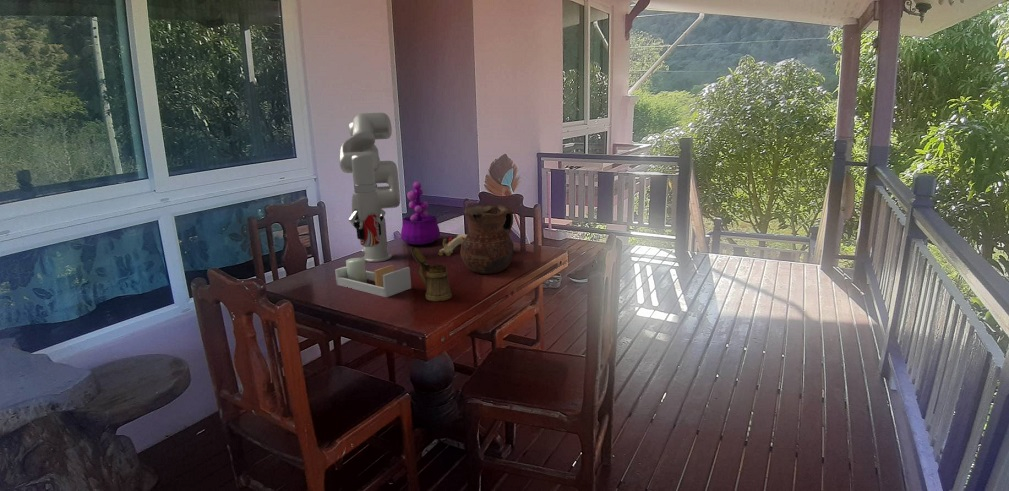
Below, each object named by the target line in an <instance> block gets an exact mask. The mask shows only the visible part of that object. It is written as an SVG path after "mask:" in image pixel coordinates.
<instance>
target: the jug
mask: <svg viewBox="0 0 1009 491" xmlns="http://www.w3.org/2000/svg"><path fill="white" fill-rule="evenodd" d="M463 213H464V214H465V216H466V218H467V220H468V222H469V229H470V230H469V232H468V233H467V234H466V235H467V236H466V238H465V239H464V241H463V243H462V244H461V246H460V257H461V260H462V262H463V264H465V267H466V268H468V269H469V270H470V271H472V272H474V273H476V274H483V275H488V274H489V275H490V274H491V275H492V274H496V273H500V272H503V271H504V270H505V269H507V268H508V267H509V265H510V263H511V261H512V260H513V255H514V250H515V247H514V246H515V245H514V241H513V240H512V239H511V236H510V233H511V229H512V227H513V224H514V214H513V210H512V209H511V208H510V207H508V206H507V205H506V206H505V205H502V204H498V205H489V204H487V205H470V206H468V207H465V208H464V210H463Z"/></svg>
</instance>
